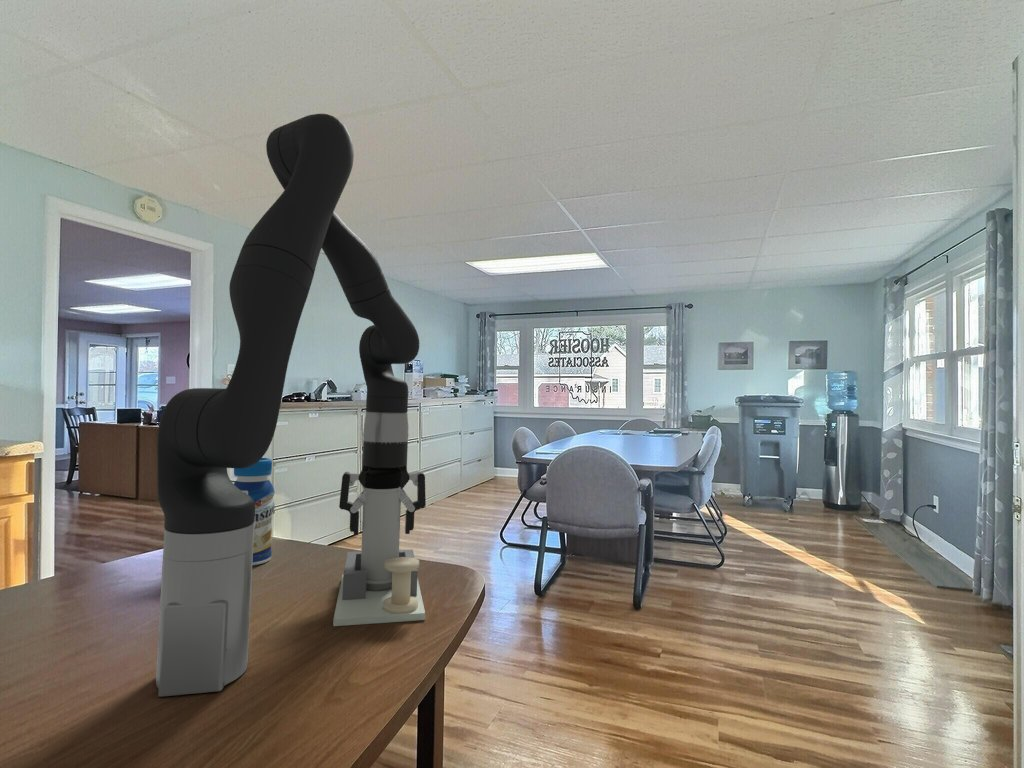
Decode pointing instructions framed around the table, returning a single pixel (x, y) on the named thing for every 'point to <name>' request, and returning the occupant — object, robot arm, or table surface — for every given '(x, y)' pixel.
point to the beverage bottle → (259, 505)
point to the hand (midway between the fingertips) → (382, 533)
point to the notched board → (379, 593)
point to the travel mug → (380, 528)
